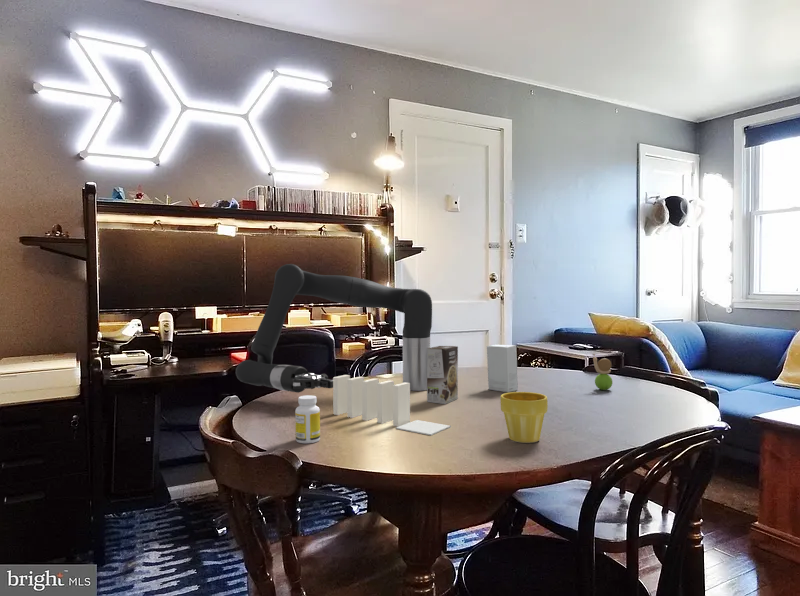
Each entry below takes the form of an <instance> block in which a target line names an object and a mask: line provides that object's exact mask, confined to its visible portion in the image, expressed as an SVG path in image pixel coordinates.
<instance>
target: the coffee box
mask: <svg viewBox="0 0 800 596" xmlns="http://www.w3.org/2000/svg"><path fill="white" fill-rule="evenodd" d="M458 353H459V347H458V345H457V346H456V345H455V346H454V345H437V346H433V347H430V348H427V390H426V402H428V403H434V404H441V405H446V404H448V403H451V402H453V401H455V400H457V399H458V398H459V395H458V394H459V388H458V387H459V381H458V380H459V378H458V377H459V375H458V374H459V369H458V368H459V367H458V366H459V354H458Z"/></svg>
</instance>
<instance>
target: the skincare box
mask: <svg viewBox="0 0 800 596" xmlns="http://www.w3.org/2000/svg"><path fill="white" fill-rule="evenodd" d="M517 355H518V354H517V345H515V344H497V343H496V344H492V345H491V344H490V345H487V346H486V359H487V361H486V362H487V363H486V364H487V382H488V383H487V384H488V390H489V391H495V392H496V391H498V392H504V393H510V392H518V390H519V386H518V385H519V381H518V377H519V376H518V359H517V357H518V356H517Z"/></svg>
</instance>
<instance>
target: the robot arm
mask: <svg viewBox="0 0 800 596" xmlns="http://www.w3.org/2000/svg"><path fill="white" fill-rule="evenodd" d="M298 295H299V296H310V297H315V298H316V297H317V298H321V299H325V300H328V301H332V302H335V303H338V304H339V303H340V304H343V305H349V306H354V307H361V308H371V309H373V308H377V309H378V308H379V309H382V308H383V309H388V310H391V311H396V312H398V313H403V314H404V318H403V320H404V321H403V328H402V383H404V382H406V383H410V391H412V392H413V391H416V392H417V391H419V392H420V391H427V348H431V331H432V327H433V301H432V298H431V295H430V294H429V293H428V292H427V291H426V290H424V289H419V288H402V287H401V288H399V287H393V286H386V285H384V284H381V283H379V282H375V281H372V280H369V279H365V278H359V277H356V276H355V277H354V276H348V275H339V274H338V275H334V274H333V275H331V274H327V275H325V274H318V273H313V272H309V271H306V270H303V269H302V268H300V267H299V266H298V265H296V264H293V263H287V264H284V265H281V266H280V267H279V268H278V269H277V271H275V274H274V283H273V288H272V292H271V296H270V299H269V303H268V304H267V308H266V310H265V313H264V315H263V318H262V319H261V322H260V324H259V326H258V329H257V331H256V334H255V336H254V338H253V340H252V343H251V348H250V349H251V352H253V353H254V354H256V355H257V361H256V360H252V359H246V360H242V361H241V362H239V363H238V365H237V366H236V368H235V376H236V378H237V380H238V381H240V382H241V383H244V384H248V385H252V386H257V387H261V386H265V387H267V388H273V389H277V390H280V391H286V392H292V393H302V392H303V391H305V390H307V389H311V390H314V389H315V388H316V389H317V388H318V389H320V388H324V389H333V379H330V378H329V376H328V375H327V374H326V373H321V374H315V373H314V372H309V371H308V369H306V367H304V366H300V365H293V364H277V363H273V359H274V351H275V349H276V347H277V344H278V341H279V338H280V336H281V333H282V330H283V326H284V322H285V321H286V316H287V313H288V311H289V309H290V307H291V304H292V303H293V300H294V298H295V297H296V296H298Z"/></svg>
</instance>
